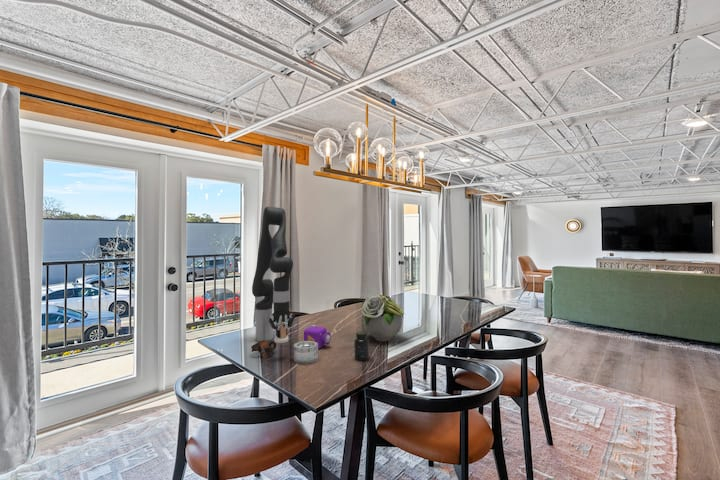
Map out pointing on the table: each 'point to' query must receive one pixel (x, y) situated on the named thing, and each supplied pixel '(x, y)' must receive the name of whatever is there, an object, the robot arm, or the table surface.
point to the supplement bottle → (361, 346)
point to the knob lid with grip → (282, 335)
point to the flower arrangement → (382, 317)
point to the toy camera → (317, 335)
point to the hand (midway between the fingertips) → (281, 336)
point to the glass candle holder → (305, 352)
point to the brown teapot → (264, 347)
